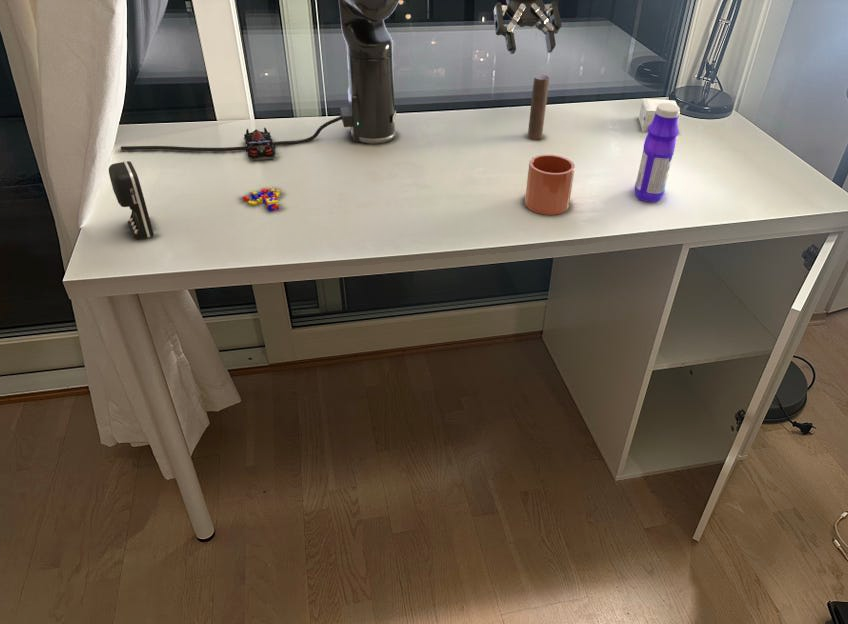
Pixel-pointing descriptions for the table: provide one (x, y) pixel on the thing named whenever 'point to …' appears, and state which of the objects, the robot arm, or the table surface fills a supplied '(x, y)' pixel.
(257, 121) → the table surface
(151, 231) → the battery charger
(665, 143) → the bottle
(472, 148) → the table surface
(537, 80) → the dowel
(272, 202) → the building blocks
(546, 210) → the holder
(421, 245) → the table surface
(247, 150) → the toy car
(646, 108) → the small box
